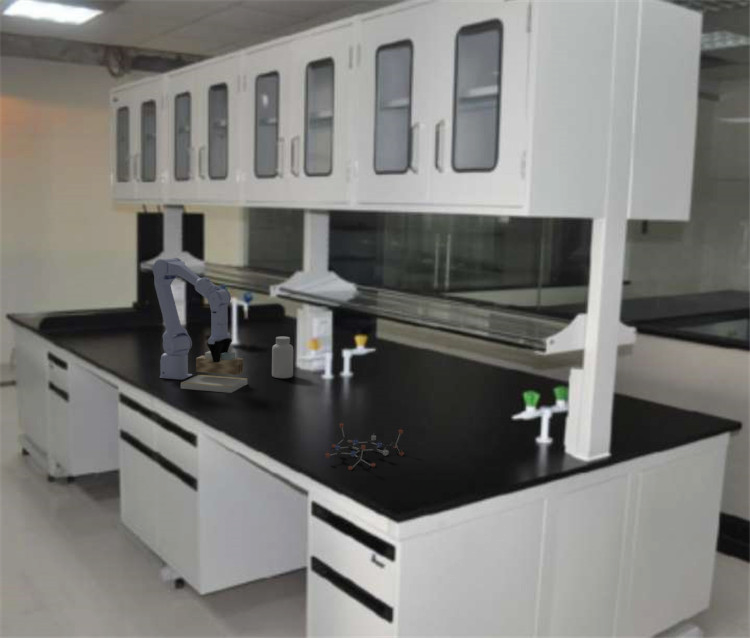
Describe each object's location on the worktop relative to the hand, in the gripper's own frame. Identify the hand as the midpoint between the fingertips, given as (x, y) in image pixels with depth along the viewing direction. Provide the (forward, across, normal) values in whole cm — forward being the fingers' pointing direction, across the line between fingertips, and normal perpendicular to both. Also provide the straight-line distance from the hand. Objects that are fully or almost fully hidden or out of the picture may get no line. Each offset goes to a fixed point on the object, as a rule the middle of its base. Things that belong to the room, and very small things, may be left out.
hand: (219, 360), depth 289 cm
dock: (+8, -4, 0) cm, 9 cm away
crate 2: (-1, 0, -3) cm, 3 cm away
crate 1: (-1, 0, +3) cm, 3 cm away
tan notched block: (+4, 0, 0) cm, 4 cm away
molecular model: (+9, -64, -69) cm, 94 cm away
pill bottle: (+9, +18, -17) cm, 27 cm away
